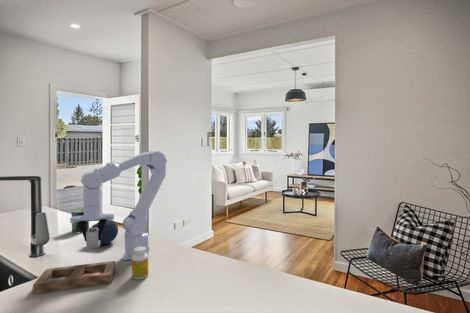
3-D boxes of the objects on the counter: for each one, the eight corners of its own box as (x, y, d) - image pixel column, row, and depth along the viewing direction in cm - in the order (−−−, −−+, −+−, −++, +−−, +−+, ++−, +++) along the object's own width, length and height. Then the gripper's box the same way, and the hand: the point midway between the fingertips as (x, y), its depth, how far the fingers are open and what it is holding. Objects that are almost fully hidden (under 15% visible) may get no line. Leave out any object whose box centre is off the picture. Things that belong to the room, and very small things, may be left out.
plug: (100, 243, 107) (99, 226, 106) (98, 247, 103) (97, 229, 102) (89, 244, 105) (88, 227, 105) (86, 248, 102) (85, 230, 101)
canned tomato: (83, 233, 142) (83, 212, 141) (68, 233, 142) (67, 212, 141) (92, 228, 150) (91, 208, 149) (77, 228, 150) (76, 208, 149)
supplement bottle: (133, 281, 93) (132, 252, 92) (131, 274, 98) (130, 247, 97) (149, 277, 95) (149, 249, 95) (146, 271, 100) (146, 244, 100)
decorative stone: (98, 239, 133) (97, 218, 133) (122, 239, 133) (122, 218, 132) (84, 248, 121) (83, 226, 121) (111, 248, 121) (110, 226, 120)
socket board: (115, 268, 102) (115, 259, 102) (111, 283, 92) (110, 273, 91) (46, 277, 96) (46, 267, 96) (33, 294, 85) (33, 283, 85)
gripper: (114, 200, 109) (115, 234, 110) (73, 203, 105) (74, 238, 106) (112, 204, 102) (113, 240, 103) (67, 207, 98) (69, 245, 99)
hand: (93, 240), depth 104 cm, fingers closed on plug, 4 cm apart
